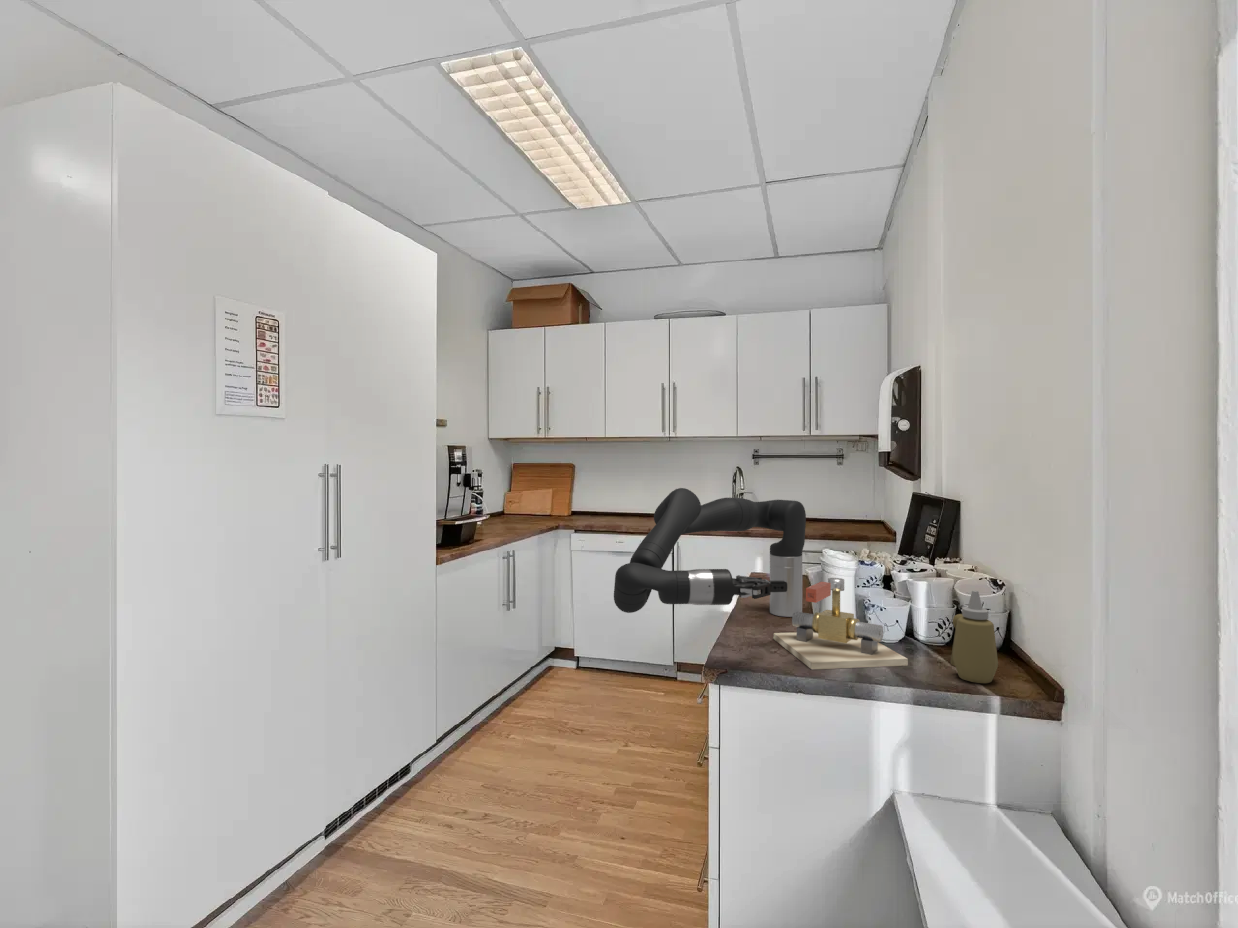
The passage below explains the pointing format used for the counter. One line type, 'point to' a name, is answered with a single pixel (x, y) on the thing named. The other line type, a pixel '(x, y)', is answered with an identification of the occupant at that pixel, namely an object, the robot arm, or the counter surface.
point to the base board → (837, 653)
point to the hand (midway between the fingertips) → (785, 586)
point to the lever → (824, 589)
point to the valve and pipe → (837, 627)
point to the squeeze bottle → (975, 643)
